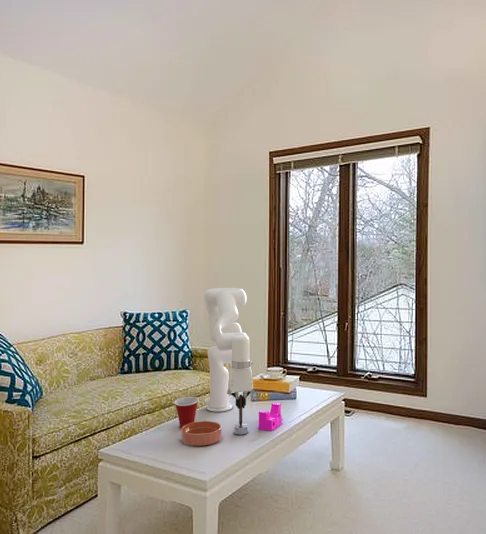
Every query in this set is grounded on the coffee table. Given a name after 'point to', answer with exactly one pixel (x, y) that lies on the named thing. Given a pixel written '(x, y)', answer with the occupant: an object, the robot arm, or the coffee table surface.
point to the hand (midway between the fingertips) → (240, 407)
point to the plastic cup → (186, 409)
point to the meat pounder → (240, 421)
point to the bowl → (201, 433)
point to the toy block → (270, 417)
